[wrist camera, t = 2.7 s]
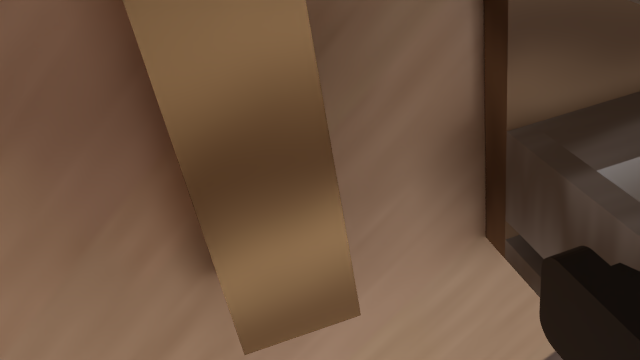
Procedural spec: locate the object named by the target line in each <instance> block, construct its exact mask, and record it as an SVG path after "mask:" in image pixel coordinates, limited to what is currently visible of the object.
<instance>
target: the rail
mask: <svg viewBox="0 0 640 360" xmlns="http://www.w3.org/2000/svg"><path fill="white" fill-rule="evenodd" d="M123 3H124V6H125V9H126V11H127V14H128V17H129V20H130V23H131V26H132V29H133V32H134V35H135V38H136V40H137V43H138V46H139V49H140V52H141V55H142V58H143V61H144V64H145V67H146V70H147V72H148V75H149V78H150V81H151V84H152V87H153V90H154V93H155V96H156V99H157V102H158V104H159V107H160V110H161V113H162V116H163V119H164V122H165V125H166V128H167V131H168V134H169V136H170V139H171V142H172V145H173V148H174V151H175V154H176V157H177V160H178V163H179V165H180V168H181V171H182V174H183V177H184V180H185V183H186V186H187V189H188V192H189V195H190V197H191V200H192V203H193V206H194V209H195V212H196V215H197V218H198V221H199V224H200V227H201V229H202V232H203V235H204V238H205V241H206V244H207V247H208V250H209V253H210V256H211V258H212V261H213V264H214V267H215V270H216V273H217V276H218V279H219V282H220V285H221V288H222V290H223V293H224V296H225V299H226V302H227V305H228V308H229V311H230V314H231V317H232V320H233V322H234V325H235V328H236V331H237V334H238V337H239V340H240V343H241V346H242V349H243V352H244V354H245V355H246V354H249V353H252V352H255V351H258V350H261V349H264V348H267V347H270V346H273V345H275V344H278V343H281V342H284V341H287V340H290V339H293V338H296V337H299V336H302V335H304V334H307V333H310V332H313V331H316V330H319V329H322V328H325V327H328V326H331V325H333V324H336V323H339V322H342V321H345V320H348V319H351V318H354V317H357V316H360V315H361V314H360V308H359V302H358V297H357V291H356V285H355V279H354V274H353V268H352V262H351V257H350V251H349V245H348V239H347V234H346V228H345V222H344V217H343V211H342V205H341V199H340V194H339V188H338V182H337V177H336V171H335V165H334V159H333V154H332V148H331V142H330V137H329V131H328V125H327V119H326V114H325V108H324V102H323V97H322V91H321V85H320V80H319V74H318V68H317V62H316V57H315V51H314V45H313V40H312V34H311V28H310V22H309V17H308V11H307V5H306V0H123Z"/></svg>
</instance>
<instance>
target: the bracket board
mask: <svg viewBox="0 0 640 360" xmlns="http://www.w3.org/2000/svg"><path fill="white" fill-rule="evenodd" d="M484 36H485V150H486V238H487V239H488V240H489V241H490V242H491V243H492V244H493V246H494V247H495V248H496V249H497V250H498V251H499V252H500V253H501V255H502V256H503V257H504V258H505V259H506V260H507V261H508V262H509V263H510V265H511V266H512V267H513V268H514V269H515V270H516V271H517V272H518V274H519V275H520V276H521V277H522V278H523V279H524V280H525V281H526V282H527V284H528V285H529V286H530V287H531V288H532V289H533V290H534V291H535V293H536V294H537V295H538V296H539V297H540V289H541V266H542V262H543V260H544V259H545V258H547V257H550V256H552V255H555V254H558V253H561V252H564V251H567V250H569V249H572V248H575V247H578V246H587V247H589V248H591V249H592V250H593V251H594V252H595V253H597V254H598V255H599V256H600V257H601V258H602V259H603V260H605V261H606V262H607V263H608V264H609V265H610V266H612V265H615V264H617V263H622V264H625V265H627V266H629V267H631V268H633V269H636V270H638V271H640V0H484Z"/></svg>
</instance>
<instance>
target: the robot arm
mask: <svg viewBox="0 0 640 360" xmlns="http://www.w3.org/2000/svg"><path fill="white" fill-rule="evenodd" d="M540 322H541V326H542V329H543V331H544V333H545V336H546V338H547V339H548V341H549V343H550V344H551V346H552V347H553V348H554V349H555V351H556V352H557V353H558V354H559V355H560V356H561V358H562V359H563V360H640V271H638V270H636V269H633V268H631V267H629V266H627V265H625V264H622V263H617V264H615V265H612V266H610V265H609V264H608V263H607V262H606V261H605V260H603V259H602V258H601V257H600V256H599V255H598V254H597V253H595V252H594V251H593V250H592V249H591V248H589V247H587V246H578V247H575V248H572V249H569V250H567V251H564V252H561V253H558V254H555V255H552V256H550V257H547V258H545V259H544V260H543V262H542V266H541V289H540Z"/></svg>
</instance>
